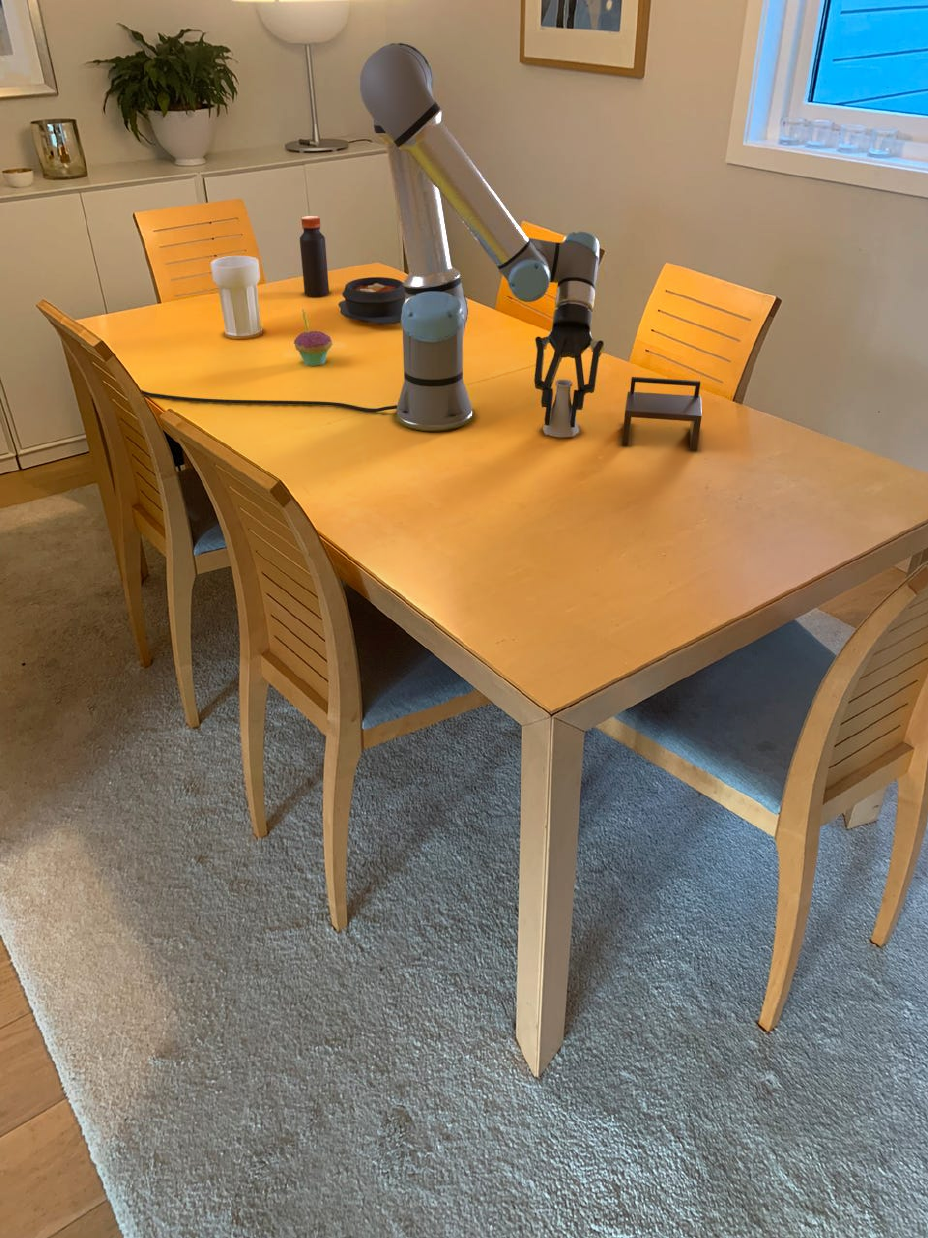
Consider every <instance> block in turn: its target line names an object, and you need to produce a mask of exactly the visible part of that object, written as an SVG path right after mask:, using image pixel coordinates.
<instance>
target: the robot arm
mask: <svg viewBox="0 0 928 1238" xmlns="http://www.w3.org/2000/svg"><path fill="white" fill-rule="evenodd" d="M433 83H434V75H433V71H432V67H431V66H430V64H429V61H428V60H427V58H426V56H425V55H424V54H423V53H422V52H421V51H420V50H419V49H417V48H416V47H414V46H412V45H410V44H408V43H403V42H398V43H397V42H396V43H394V42H391V43H389V44H385V45H383V46H382V47H380V48H379V49H378V50H376V51H375V52H373V53H372V54H371V55H370V56H369V57H368V58H367V59H366V61H365V62H364V64H363V66H362V68H361V71H360V75H359V80H358V84H359V85H358V88H359V94H360V98H361V100H362V103H363V105H364V107H365V109H366V111H367V112H368V113H369V115H371V119H372V123H373V129H374V134H375V136H377V137H378V138H380V139H381V140H382V141H383V142H384V145H385V149H386V154H387V155H386V156H387V159H388V165H389V172H390V176H391V183H392V187H393V193H394V198H395V203H396V209H397V216H398V220H399V224H400V226H399V227H400V232H401V237H402V242H403V248H404V255H405V259H406V264H407V269H408V270H407V271H408V274H407V275H406V277H405V279H404V280H403V281H402V282H403V285H404V290H405V296H406V299H405V303H404V304H403V307H402V315H401V323H400V324H401V325H402V326H401V327H402V349H403V350H402V352H403V353H402V354H403V377H404V378H403V379H404V380H403V384H402V388H401V391H400V394H399V398H398V402H397V404H396V405H387V406H381V407H377V408H374V407H372V408H370V407H361V406H357V405H353V404H349V403H344V402H333V401H319V400H318V401H317V400H277V399H276V400H272V399H271V400H270V399H269V400H267V399H265V400H264V399H261V400H260V399H222V398H220V399H219V398H204V397H203V398H202V397H189V396H179V395H172V394H171V395H170V394H161V393H155V392H149V391H145V390H143V389H140V390H141V391H142V395H144V396H147V397H152V398H159V399H168V400H177V401H187V402H200V403H213V404H215V403H216V404H248V405H249V404H253V405H254V404H255V405H304V406H305V405H306V406H307V405H308V406H309V405H310V406H311V405H312V406H329V407H330V406H331V407H340V408H348V409H351V410H356V411H360V412H365V413H366V412H367V413H378V412H384V411H389V410H390V411H391V410H396V420H397V422H398V423H399V424H401V425H402V426H403V427H405V428H408V429H412V430H414V431H420V432H446V431H451V430H456V429H459V428H461V427H463V426H466V425H468V424H469V423H470V422H471V420H472V419H473V406H472V403H471V400H470V396H469V394H468V391H467V388H466V385H465V382H464V337H465V336H464V335H465V330H466V324H467V321H468V315H469V306H468V300H467V298H466V295H465V294H464V290H463V284H462V278H461V272H460V271H459V270H458V269H457V268H455V267H454V266H453V265H452V263H451V257H450V249H449V243H448V236H447V230H446V224H445V223H446V222H445V218H444V211H443V205H442V199H441V196H442V198H444V200H445V201H446V202H447V204H448V205H449V206H450V207H451V208H452V210H453V211H454V213H455V214H456V215H457V216H458V218H459V219H460V220H461V222H462V223H463V224H464V226H465V227H466V228H467V229H468V231H469V232H470V234H471V235H472V236H473V237H474V239H475V240H476V241H477V243H478V244H479V245H480V246H481V248H482V249H483V250H484V252H485V253H486V254H487V256H488V258H490V259H491V261H492V262H493V263H494V265H495V266H496V268H497V269H498V272H499V273H500V274H501V275H502V276H503V277H504V279H506V281H507V284H508V288H509V290H510V291H511V293H512V295H513V296H514V297H515V298H516V299H518V300H519V301H522V302H525V303H532V302H536V301H539V300H540V299H542V298H543V297H544V296H545V294H546V293H547V292H548V289H549V287H550V283H553V284H557V286H556V287H557V288H556V293H555V300H554V301H555V302H554V311H553V318H552V324H551V325H552V326H551V330H550V332H549V333H548V335H547V336H544V337H541V336H536V337H535V339H534V340H535V341H534V342H535V347H536V359H535V370H534V378H533V379H534V380H533V381H534V382H533V383H534V388H535V389H536V390H540V391H541V392H542V393H541V400H540V404H541V407H542V408H545V413H544V414H545V415H544V424H545V425H547V426H549V423H550V415H551V408H552V405H553V399H554V390H553V387H552V386H553V383H554V381H555V378H556V375H557V372H558V369H559V367H560V364H561V363H562V359H563V358H571V359H574V363H575V373H576V374H575V375H576V383H577V389H574V390H573V397H572V403H571V404H572V412H571V421H570V424H571V427H574V428H575V420H576V421H577V411H582V410H583V408H584V402H585V395H587V394H589V393H590V394H593V393H595V389H596V382H597V375H598V370H599V369H598V367H599V362H600V357H601V356H602V353H603V352H604V347H605V345H604V344H605V342H604V341H603V340H601V339H600V340H595V339H594V338H593V336H592V333H591V329H592V322H593V312H594V304H595V296H596V286H597V279H598V273H599V264H600V247H601V246H600V242H599V240H598V239H597V237H596V236H594V235H593V234H591V233H589V232H586V231H578V232H574V231H573V232H569V233H568V234H567V235H565V237H564V238H563V240H562V241H559V242H557V241H550V240H545V239H538V238H533V237H528V236H527V235H526V234H525V232H524V231H523V230H522V228H521V226H520V225H519V224H518V222H517V221H516V219H515V218H514V217H513V215H512V214H511V212H509V210H508V209H507V207H506V206H505V205H504V203H503V202H502V200H501V199H500V198H499V197H498V195H497V194H496V193H495V191H494V190H493V188H492V187H491V186H490V185H489V183H488V182H487V180H486V179H485V177H484V176H483V175H482V173H481V172H480V171H479V169H478V168H477V166H475V164H474V162H473V161H472V160H471V159H470V157H469V156H468V154H467V153H466V152H465V150H464V149H463V148H462V146H461V144H460V143H459V141H457V139H456V138H455V136H454V135H453V134H452V132H451V131H450V130H449V129H448V127H447V126H446V124H445V123H444V122H443V121H442V113H443V112H442V108H441V107H440V106H439V105H438V103H437V102H436V100H435V99H434V94H433V88H434V85H433ZM548 345H550V346H551V348H552V350H553V356H552V358H551V361H550V364H549V366H548V370H547V373H546V375H545V378H544V381H543V371H544V361H545V350H547V349H548ZM589 347H590V350H591V353H592V356H591V362H590V367H589V368H590V369H589V375H588V376H589V377H588V383H586V384H585V378H584V369H583V360H582V355H583V353H584V352H585V351H586V350H587V349H588V348H589Z"/></svg>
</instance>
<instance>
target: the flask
mask: <svg viewBox="0 0 928 1238" xmlns="http://www.w3.org/2000/svg"><path fill="white" fill-rule="evenodd" d="M554 383H555V386H556V392H555V396H554V401H553V402H552V407H551V415H550V423H549V426H547V425H545V423H544V424H543V427H542V431H543V433H544V435H545V436H551V437H555V438H574V437H575V436H576V435H578V433H580V429H579V425H578V422H577V419H576V420H575V428H574V427H571V424H570V421H571V412H572V404H573V403H572V397H571V387H572V386H573V381H572V380H569V379H557V380H556V381H555V382H554Z"/></svg>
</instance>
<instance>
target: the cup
mask: <svg viewBox="0 0 928 1238" xmlns="http://www.w3.org/2000/svg"><path fill="white" fill-rule="evenodd" d="M209 264H210V269H211V274H212V280H213V282H214V284H215V285H216V286H217V288H218V293H219V299H220V305H221V312H222V317H223V322H224V329H225V330H224V334H225V336H226V338H229V339H233V340H249V339H254V338H258V337H259V336H262V335H263V328H262V325H261V315H260V314H261V313H260V303H259V302H260V301H259V292H258V284H259V282H260V279H261V273H260V262H259V259H258V258H257V257H254V256H250V255H229V256H222V257H218V258H214V259H212V260H211V262H210V263H209Z"/></svg>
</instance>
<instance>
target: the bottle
mask: <svg viewBox="0 0 928 1238" xmlns="http://www.w3.org/2000/svg"><path fill="white" fill-rule="evenodd" d="M301 227H302V230H303V233H301V235H300V236H299V246H300V247H299V248H300V258H301V269H302V280H303V291H304V292H303V293H304V295H305V296H307V297H311V298H320V297H325V296H328V295H329V293H330V287H329V286H330V284H329V274H328V273H329V272H328V261H327V260H328V259H327V249H326V238H325V237H326V236H325V235H324V234H323V233H322V232H321V230H320V229H321V218H320V216H316V215H307V216H303V217H301Z"/></svg>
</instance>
